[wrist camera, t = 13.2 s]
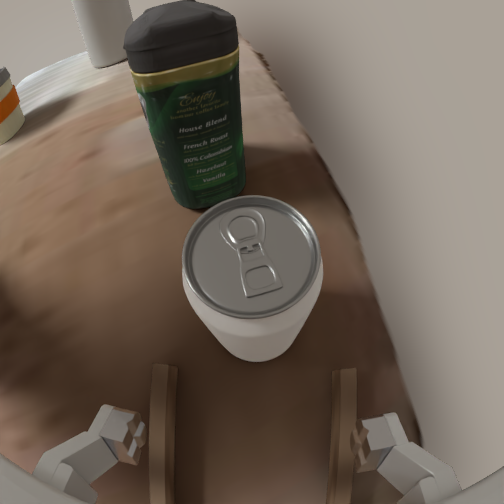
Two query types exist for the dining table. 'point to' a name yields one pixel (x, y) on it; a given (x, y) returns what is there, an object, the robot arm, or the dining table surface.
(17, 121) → the reusable coffee cup
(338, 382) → the rail channel
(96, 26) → the cylinder vase
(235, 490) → the dining table surface
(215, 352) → the dining table surface
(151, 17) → the coffee jar
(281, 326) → the can
